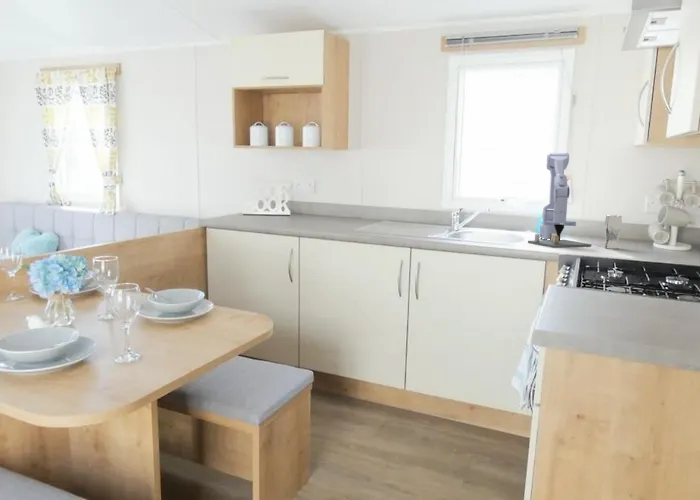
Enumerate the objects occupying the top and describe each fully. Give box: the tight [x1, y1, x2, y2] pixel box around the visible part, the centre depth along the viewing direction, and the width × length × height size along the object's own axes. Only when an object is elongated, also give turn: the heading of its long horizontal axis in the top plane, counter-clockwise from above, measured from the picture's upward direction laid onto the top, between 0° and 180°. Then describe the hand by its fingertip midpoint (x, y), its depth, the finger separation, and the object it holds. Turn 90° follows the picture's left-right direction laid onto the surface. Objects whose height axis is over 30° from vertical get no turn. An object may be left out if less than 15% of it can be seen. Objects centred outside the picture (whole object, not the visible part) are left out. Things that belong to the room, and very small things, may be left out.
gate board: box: [527, 233, 592, 249], centre depth 263 cm, size 18×22×5 cm
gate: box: [550, 233, 559, 244], centre depth 263 cm, size 16×2×4 cm, turn 167°
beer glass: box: [603, 214, 623, 250], centre depth 253 cm, size 7×7×15 cm
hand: (558, 240), depth 261 cm, fingers closed, pressing on gate
